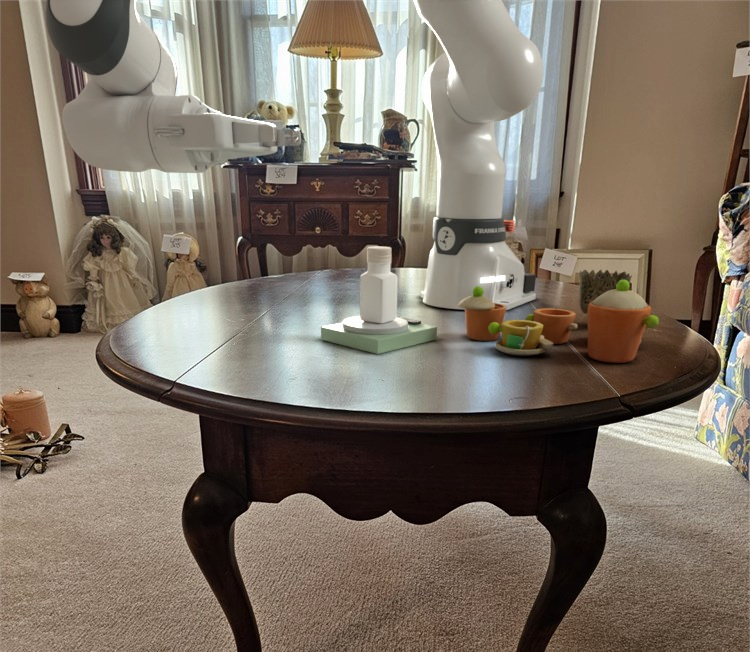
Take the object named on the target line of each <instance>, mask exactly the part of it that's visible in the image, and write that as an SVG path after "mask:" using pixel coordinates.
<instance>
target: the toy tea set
mask: <svg viewBox="0 0 750 652" xmlns="http://www.w3.org/2000/svg"><path fill="white" fill-rule="evenodd" d="M616 287H617V289H614V290H610V291H607V292H605V293H603V294H602V295H600V296H599V297H597V298H596V299H595V300H594V301H592V302H590V303H589V305H588V313H587V314H584V313H583V315H582V317H581V322H582V323H584V324H585V325H586V324H587V325H588V326H587V325H586V326H587V355H588V357H589V358H590V359H592V360H595V361H599V362H603V363H611V364H624V363H629V362H632V361H633V360H634V359H635V358H636V356H637V353H638V350H639V347H640V344H641V343H642V338H643V335H644V333H645V330H648V329H649V328H651V329H653V328H655V327H657V326H658V325H659V321H660V320H659V317H658V316H656V315H653V314H651V312H652V308H651V306H650V305H649V304H648V303H647V302H646V301H645V299H644V298H643V296H641V295H640V294H638V293H637V292H636V291H633V290H630V283H629V282H628V281H627V280H620V281H619V282H618V283H617V286H616ZM472 293H473V296H469V297H467V298H465V299H463V300H462V301H461V302H460V303H459V307H461V308H465V310H464V317H465V325H466V326H465V330H466V336H467V338H468V339H470V340H474V341H478V342H479V341H480V342H490V341H491V342H492V341H496V340H497V341H496V342H495V349H496V350H498V351H499V352H502V353H504V354H507V355H511V356H517V357H518V356H519V357H530V356H531V357H532V356H538V355H540V354H543V353H545V352H546V351H547V350H549V349H550V350H551V349H553V348H554V345H562V344H566V343H568V341H569V339H570V335H571V332H572V331H575V330H577V329H578V323H575V319H576V315H577V313H575V311H573V310H569V309H564V308H563V309H562V308H553V307H552V308H551V307H549V308H548V307H545V308H537V309H534V311H533V313H530V314H527V316H526V318H525V319H507V320H504V319H505V315H506V312H507V310H506V308H507V307H506V306H505V305H502V304H498V303H493V302H492V301H491V300H490V299H488V298H486V297H484V296H482V295H483V288H482V287H480V286H477V287H475V288H474V289H473V291H472ZM500 335H501V339H500V340H498V339H499V338H500Z"/></svg>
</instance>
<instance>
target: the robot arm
mask: <svg viewBox="0 0 750 652" xmlns="http://www.w3.org/2000/svg"><path fill="white" fill-rule="evenodd" d="M136 1H137V0H46V2H45V22H46V30H47V34H48V37H49V39H50V41H51V43H52V45H53V47H54V48H55V50H56V51H57V52H58V53H59V54H60V55H61V56H62V57H64V58H65V59H66V60H67V61H69V62H70V63H71V64H73V66H75V67H77V68H78V69H80V70H81V71H82V72H84V73H86V75H88V76H89V78H88V81H87V82H86V84H85V85H84V87H83V89H82V90H81V92H79V94H78V95H77V97H75V98H74V99H72V100H71V101H69V102H67V103H66V104H65V105H64V106H63V109H62V113H61V120H62V125H63V130H64V134H65V137H66V139H67V141H68V143H69V145H70V147H71V149H72V150H73V151H74V153H75V154H76V155H77V156H78V157H79V159H81V160H82V161H83V162H84V163H86V164H87V165H89V166H91V167H94V168H97V169H101V170H107V171H116V172H127V173H143V172H147V171H148V170H157V171H159V172H162V173H170V174H171V173H172V174H203V173H205V172H206V171H207V170H208V169H210V168H212V167H214V166H217V165H222V164H226V161H227V160H234V159H242V158H250V157H261V156H268V155H272V154H275V153H277V152H278V147H286V146H300V145H301V144H302V137H301V135H302V134H301V131H300V130H298V129H283V128H277V126H276V124H274V123H271V122H265V121H260V120H254V119H248V118H243V117H238V116H231V115H227V114H223V113H222V111H219V110H217V109H214V108H212V107H209V105H206V103H204V102H202V101H201V100H200V98H199V97H198V96H196V95H194V94H193V95H192V94H191V95H189V94H185V95H180V94H179V95H178V94H176V92H177V84H178V68H177V64H176V61H175V58H174V57H173V55H172V53H170V50H169V49H168V48H167V46H166V45H165V44H164V43H163V41H162V40H161V38H159V36H158V35H157V33H156V32H155V31H154V30H153V29H152V28H151V27H150V26H149V25H148V24H147V22H146V21H145V20H144V18H143V17H142V16H141V15H140V14H139V12H138V11H137V7H136V6H137V5H136V3H137V2H136ZM413 2H414V5H415V8H416V11H417V13H418V15H419V17H420V18H421V20H422V21H424V22H425V23H426V24H427V25H428V26H429V27H430V29H431V30H432V31H433V33H434V34H435V36H436V38H437V39H438V41H439V43H440V46H441V47H442V48H443V50H444V52H442V54H440V55H439V56H438V57H437V58H436V59H435V60H434V61H433V62H432V63H431V64H430V65H429V67H428V68H427V70H426V71H425V74H424V77H423V80H422V87H421V92H422V93H421V94H422V100H423V103H424V106H425V108H426V110H427V111H428V114H429V115H430V119H431V124H432V129H433V134H434V135H433V137H434V142H435V148H436V157H437V158H436V159H437V189H436V190H437V193H436V211H435V212H436V214H435V216H434V217H433V222H432V228H431V229H432V235H431V236H432V237H431V239H432V240H434V242H433V246H432V248H431V249H430V252H429V254H428V261H427V269H426V277H425V282H424V283H425V284H424V289H423V290H421V292H420V297H421V298H422V303H423V304H425V305H428V306H432V307H436V308H444V309H450V310H451V309H452V310H464V311H465V308H461V307H459V303H460V302H461V301H462V300H463V299H465V298H467V297H469V296H473V293H472V291H473V289H474V288H475V287H477V286H480V287H482V288H483V295H482V296H484V297H486V298H488V299H490V300H491V301H492V302H493V303H498V304H502V305H505V306H506V307H507V308H506V311H508V310H511V309H513V308H517V307H519V306H521V305H524V304H527V303H528V302H531V301H535V300H536V298H537V297H536V295H537V294H536V293H535V288H536V281H537V274H534V273H529V272H525V266H524V264H523V263H522V261H521V260H520V259H519V258H518V257H517V256H516V254H515V253H514V252H513V250H512V249H511V248H510V246H509V245H508V244H507V243H506V240H507V233H509V234H513V233H514V232H515V231H514V230H516V227H517V226H516V221H515V220H514V219H511V220H507V219H504V218H503V209H504V208H503V206H504V196H505V185H506V175H507V169H506V164H505V161H504V159H503V157H502V156H501V154H500V151H499V148H498V144H497V138H496V132H495V131H496V130H495V122H501V121H506V120H508V119H510V118H512V117H513V116H516V115H517V114H519V113H521V112H523V111H525V110H526V109H527V108H528V107H530V106H531V104H532V103H534V101H535V99H536V98H537V96H538V95H539V92H540V90H541V87H542V85H543V79H544V64H543V59H542V55H541V53H540V49H538V47H537V45H536V44H535V43H534V41H532V40H531V39H530V38H528V37H527V36H526V35H525V34H523V32H521V30H520V29H519V28H518V27H517V25H516V24H515V22H514V20H513V18H512V17H511V15H510V13H509V11H508V9H507V7H506V6H505V3H504V2H503V0H413Z"/></svg>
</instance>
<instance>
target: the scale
mask: <svg viewBox="0 0 750 652" xmlns="http://www.w3.org/2000/svg"><path fill="white" fill-rule="evenodd" d="M437 335H438V326H435V325H430V324H425V323H422V320H417V319H414V318H413V319H412V318H409V317H408V318H407V317H402V316H398V315H397V316H396V319H395V320H392V321H389V322H386V323H382V324H378V323H372V322H366V321H363V320H361V319H360V315H356V316H351V317H347V318H344V319H343V320H342V322H338V323H334V324H328V325H323V326H320V337H321V338H320V339H321V340H322V341H325V342H329V343H333V344H337V345H339V346H345V347H348V348H352V349H356V350H360V351H363V352H364V351H365V352H368V353H372V354H375V355H379V354H384V353H387V352H388V353H389V352H392V351H396V350H401V349H405V348H408V347H411V346H412V347H413V346H416V345H420V344H424V343H427V342H431V341H432V342H433V341H435V340H437V339H438V337H437Z"/></svg>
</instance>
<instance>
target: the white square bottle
mask: <svg viewBox="0 0 750 652" xmlns="http://www.w3.org/2000/svg"><path fill="white" fill-rule="evenodd" d="M392 251H393V250H392V247H391V246H380V245H379V246H378V245H377V246H368V247H367V248H366V264H367V271H365V272H363V273H362V274H361V275H360V276H359V316H360V319H361V320H363V321H366V322H372V323H378V324H382V323H386V322H389V321H392V320H395V319H396V316H398V313H397V312H398V285H399V283H398V279H399V278H398V275H397V274H395V273H394V272H392V271H391V263H392Z"/></svg>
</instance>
